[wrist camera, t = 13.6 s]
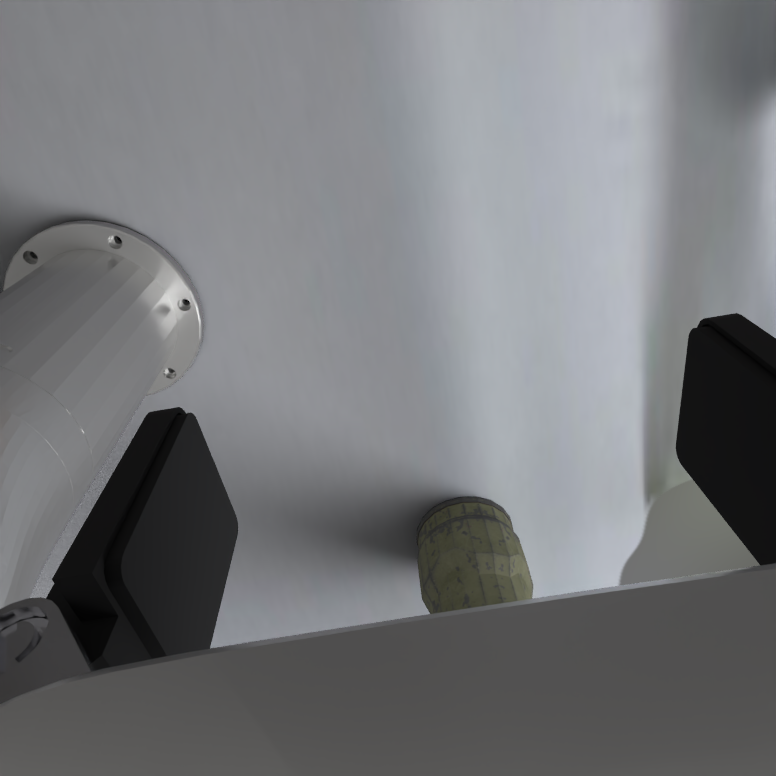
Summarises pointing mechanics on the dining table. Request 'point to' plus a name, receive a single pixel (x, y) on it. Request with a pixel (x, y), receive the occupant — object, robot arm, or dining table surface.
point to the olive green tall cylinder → (470, 557)
